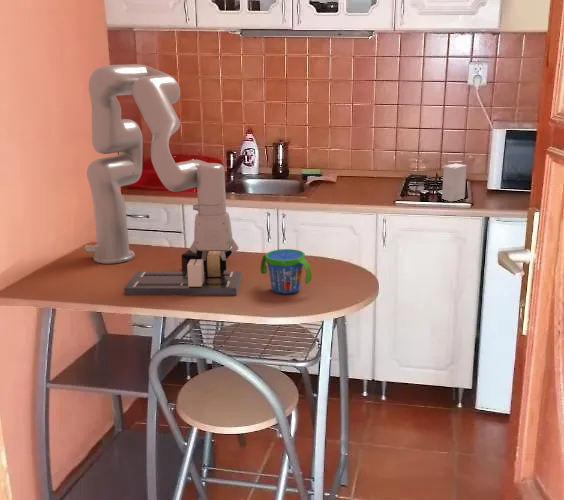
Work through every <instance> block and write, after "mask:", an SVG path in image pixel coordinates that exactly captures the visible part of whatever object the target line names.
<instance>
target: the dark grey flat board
mask: <svg viewBox="0 0 564 500" xmlns="http://www.w3.org/2000/svg"><path fill="white" fill-rule="evenodd" d="M241 281H242V271H239V270H237V271H234V270H231V271H228V270H226V271H224V274H221V276H220V277H208V274H206V271H204V282H203V284H202V287H188V271H182V270H180V271H178V270H177V271H176V270H175V271H172V270H171V271H170V270H169V271H167V270H166V271H161V270H160V271H156V270H155V271H152V270H151V271H147V270H146V271H145V270H143V271H136V272H135V273H134V274H133V276H132V277H131V278H130V280H128V282H127V284H125V286H124V288H123V293H124V296H237V294H238V291H239V288H240V284H241Z"/></svg>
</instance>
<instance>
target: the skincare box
mask: <svg viewBox="0 0 564 500" xmlns="http://www.w3.org/2000/svg"><path fill="white" fill-rule="evenodd" d="M467 169H468V168H467V164H462V163H456V162H455V163H451V164H448V165H443V175H442V191H441V193H442V195H441V200H442V199H444V200H448V201H457V200H460V199H464V198H465V197H466V181H467ZM464 200H465V199H464ZM460 201H461V200H460ZM457 202H458V201H457Z"/></svg>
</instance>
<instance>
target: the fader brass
mask: <svg viewBox="0 0 564 500" xmlns="http://www.w3.org/2000/svg"><path fill="white" fill-rule="evenodd" d="M220 261H221V252H220V251H209V252H208V254H207V272H208V277H220V276H221V269H220Z"/></svg>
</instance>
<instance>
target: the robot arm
mask: <svg viewBox="0 0 564 500" xmlns="http://www.w3.org/2000/svg"><path fill="white" fill-rule="evenodd" d="M88 93H89V99H90V104H91V143H92V147H93V149H94V150H95V152H96V153H98V154H100V155H101V154H102V155H109V154H115V153H118V154H117V155H112V156H105V157H101V158H97V159H95V160H93V161H92V162H90V164H89V165H88V166H87V169H86V177H87V178H86V179H87V182H88V184H89V188H90V192H91V198H92V204H93V213H94V221H95V222H94V223H95V224H94V225H95V233H96V243H95V244H94V245H92V244H87V245H84V251H85V252H86V253H88V254H90V253H91V254H92V253H94V255H93V261H94V262H96V263H99V264H100V263H101V264H105V265H106V264H112V265H113V264H121V263H124V262H125V263H126V262H128V261H132V259H134V258H135V256H136V254H135V252H134V250H131V249H130V245H129V244H130V243H129V235H128V234H129V232H128V220H127V209H126V208H127V207H126V201H125V198H124V196H123V195H122V193H121V192H120V190H119V188H120V187H125V186H129V185H133V184H135V183H137V182H138V181H139V180H140V178H141V176H142V173H143V153H144V151H143V146H144V145H143V143H144V142H143V138H144V137H143V132H142V130H141V127H140V125H139V124H138V123H137V122H136V121H134V120H132V119H130V118H129V119H127V118H123V119H122V106H121V104H120V103H121V102H120V100H118V98H117V96H129V95H130V96H132V97H133V99H134V101H135V103H136V106H137V107H138V110H139V111H140V113H141V115H142V117H143V119H144V121H145V123H146V125H147V127H148V129H149V131H150V133H151V136H152V139H151V144H150V159H151V163H152V166H153V169H154V171H155V173H156V175H157V177H158V179H159V180H160V182H161V183H162V185H163V186H164V187H165V189H167V190H168V191H171V192H175V193H176V192H177V193H178V192H181V191H186V190H189V189H193V188H196V189H197V204H193V205H192V210H193V211H197V213H196V214H195V216H194V218H195V219H194V230H193V231H194V235H193V237H194V238H193V239H194V240H193V241H192V244H191V245H190V247H189V250H190V251H192V252H194V253H196V254H197V255H198V256H199V257H200V258H201V259H203V264H204V271H206V274H208V272H207V254H208V251H220V252H221V261H220V269H221V274H224V271H227V259H228V258H229V257H230V256H231V255H232V254H234V253H236V252H237V251H238V250H239V246H238V245H237V243H236V241H235V240H234V238H233V231H232V224H231V223H232V222H231V218H230V214H229V212H227V200H226V199H227V198H226V173H225V167H224V165H222V164H221V163H216V162H206V161H203V160H200V159H190V160H186V161H180V162H175V160H174V158H173V156H172V154H171V150H170V146H169V144H170V143H169V142H170V140H171V139H170V138H171V136H172V135H173V134H175V133H176V132H177V131H178V130H179V128H180V127H181V121H180V120H181V119H180V118H179V117H178V115H177V113H176V111H175V109H174V107H173V104H174V105H175V104H176V103H177V102H178V101H179V99H180V97H181V88H180V84H179V83H178V82H177V79H175V78H174V76H172V75H170V74H168V73H166V72H164V71H161V70H158V69H156V68H153V67H151V66H149V65H145V64H140V63H132V64H129V63H128V64H111V65H110V64H108V65H104V66H100V67H98V68H96V69H95V70H93V71H92V72H91V74H90V76H89V79H88ZM227 250H228V251H227ZM226 251H227V252H226Z"/></svg>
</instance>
